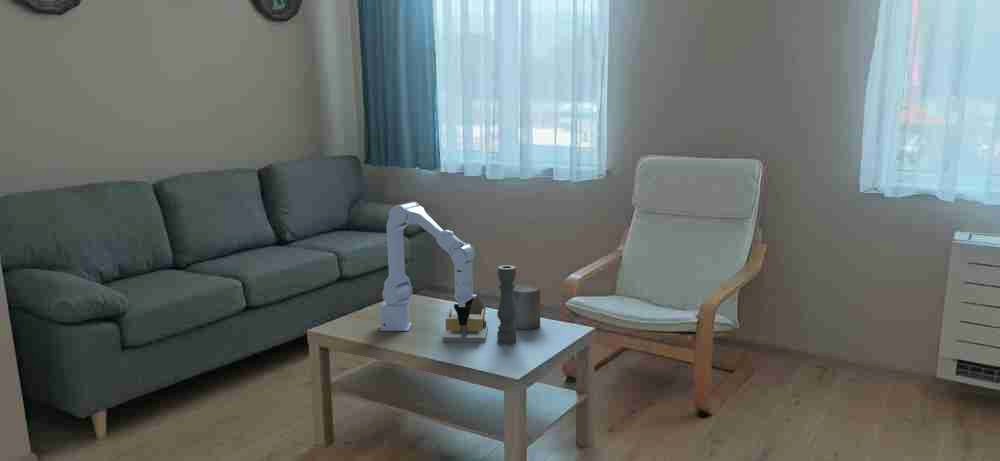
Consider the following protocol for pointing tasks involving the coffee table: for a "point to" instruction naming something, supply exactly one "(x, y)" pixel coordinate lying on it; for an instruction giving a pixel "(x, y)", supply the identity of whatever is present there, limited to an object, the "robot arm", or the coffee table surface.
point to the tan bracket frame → (472, 323)
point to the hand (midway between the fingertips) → (464, 322)
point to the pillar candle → (527, 306)
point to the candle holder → (506, 306)
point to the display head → (466, 333)
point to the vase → (477, 306)
